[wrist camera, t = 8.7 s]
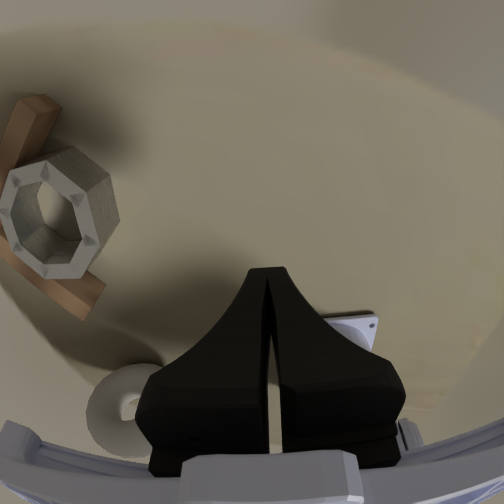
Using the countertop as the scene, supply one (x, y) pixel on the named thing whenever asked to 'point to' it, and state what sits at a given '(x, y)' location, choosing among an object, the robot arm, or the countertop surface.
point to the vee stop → (3, 160)
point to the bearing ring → (85, 207)
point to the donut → (119, 411)
